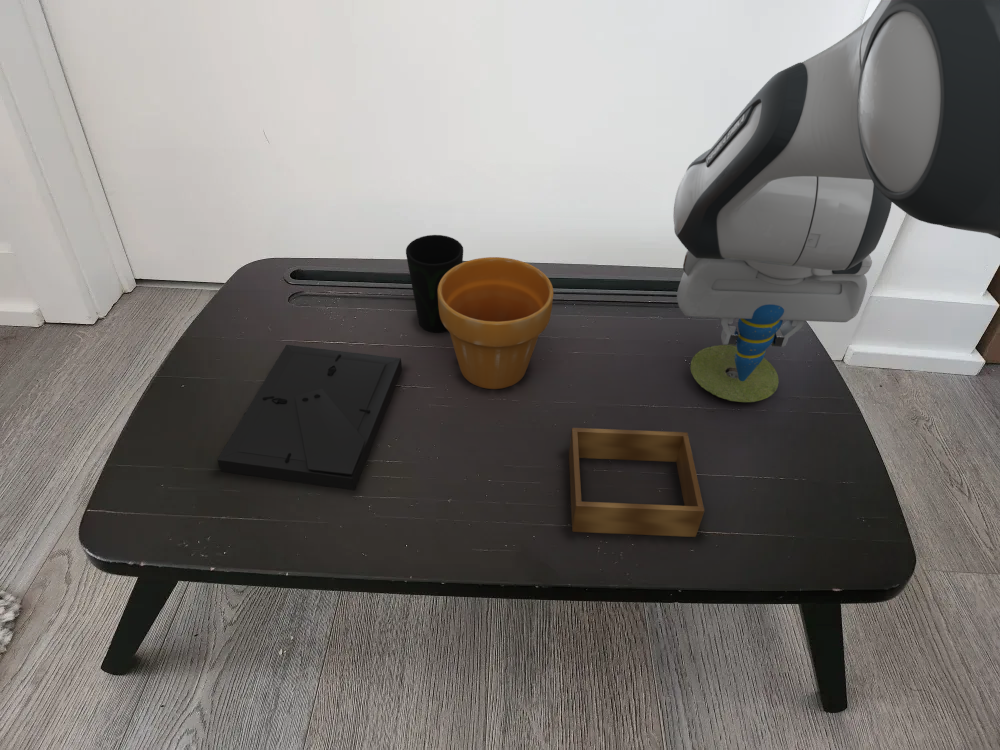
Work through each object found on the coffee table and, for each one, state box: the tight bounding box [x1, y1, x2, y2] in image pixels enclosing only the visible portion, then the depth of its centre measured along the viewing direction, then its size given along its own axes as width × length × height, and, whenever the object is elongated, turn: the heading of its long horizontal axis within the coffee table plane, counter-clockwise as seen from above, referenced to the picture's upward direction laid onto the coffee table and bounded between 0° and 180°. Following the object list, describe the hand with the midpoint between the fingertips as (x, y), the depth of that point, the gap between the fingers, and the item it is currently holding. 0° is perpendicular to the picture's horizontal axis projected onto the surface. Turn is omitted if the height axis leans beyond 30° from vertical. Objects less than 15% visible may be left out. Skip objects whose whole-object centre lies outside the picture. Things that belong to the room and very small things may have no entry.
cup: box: [405, 234, 464, 334], centre depth 100 cm, size 8×8×12 cm
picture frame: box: [217, 344, 403, 491], centre depth 88 cm, size 16×3×21 cm
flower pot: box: [438, 256, 554, 390], centre depth 93 cm, size 14×14×13 cm
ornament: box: [735, 304, 784, 381], centre depth 87 cm, size 5×5×15 cm
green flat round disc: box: [689, 344, 780, 403], centre depth 95 cm, size 11×11×2 cm
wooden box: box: [568, 427, 705, 538], centre depth 80 cm, size 13×11×4 cm
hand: (752, 342), depth 88 cm, fingers closed on ornament, 4 cm apart
